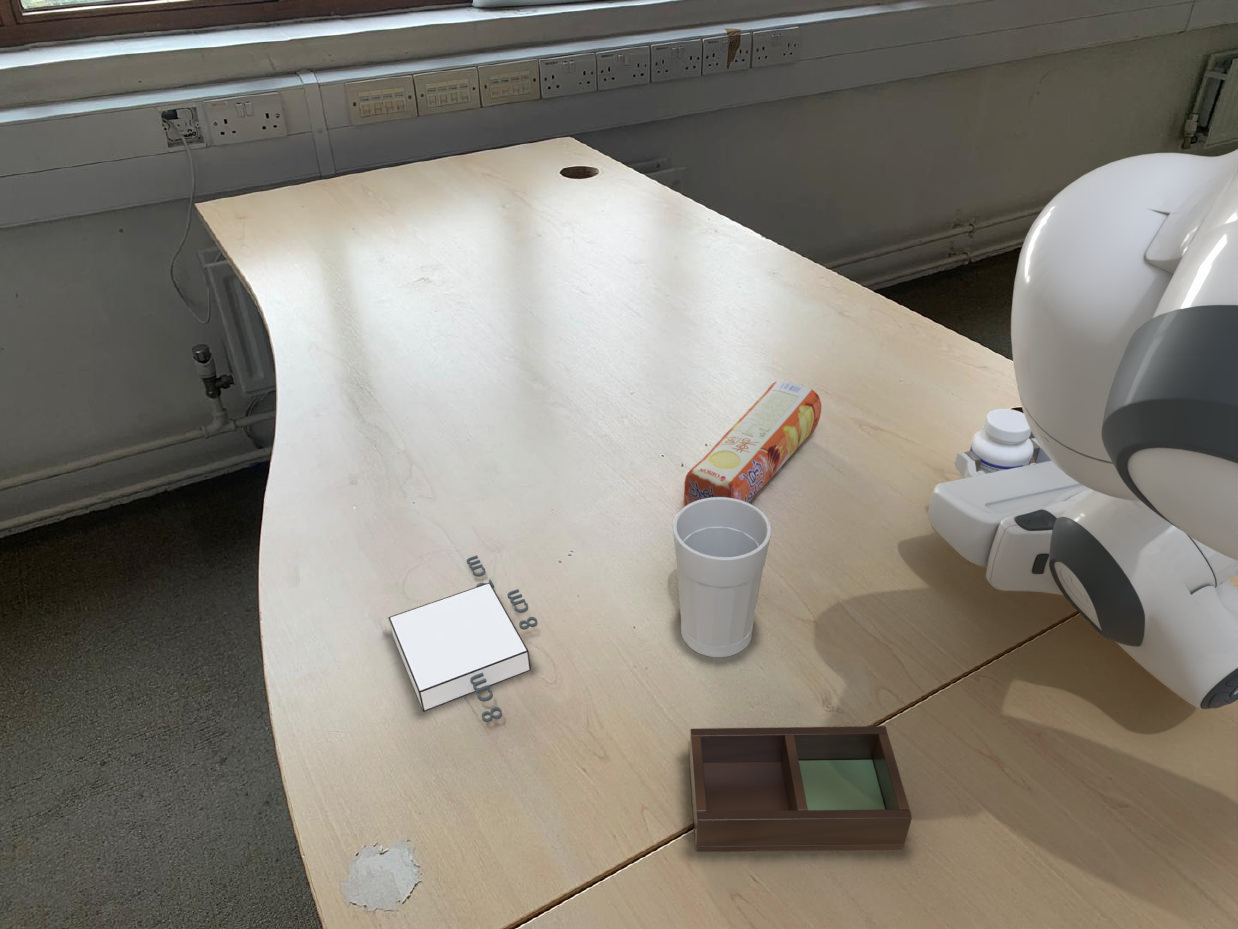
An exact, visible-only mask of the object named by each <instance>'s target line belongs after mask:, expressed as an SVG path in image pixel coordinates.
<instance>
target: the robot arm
mask: <svg viewBox="0 0 1238 929" xmlns="http://www.w3.org/2000/svg"><path fill="white" fill-rule="evenodd" d="M1012 292H1013V293H1012V304H1011V314H1010V339H1011V351H1012V365H1013V372H1014V376H1015V382H1016V386H1017V391H1018V397H1019V400H1020V405H1021V409H1022V413H1024V415H1025V418H1026V420H1027V423H1028V425H1029V427H1030V429H1031V433H1032V435H1033V436H1034V437H1033V438H1029V439H1030V440H1031V442H1032V444H1033V448H1034V451H1033V455H1032V459H1031V462H1030V465H1027V466H1022V467H1017V468H1012V469H1007V470H1003V471H998V472H993V473H988V474H986V473H985V472H984V471H982V470H981V471H979V470H980V468H979V466H980V465H981V461H982V458H981V457H979V456H978V455H976V454H975V452H974V451H970V450H968V451H963V452H958V453H956V457H955V461H954V466H955V469H956V470H957V471H958V472H959V473H960V474H961V475H962V476H963V478H960V479H953V480H949V481H944V482H939V483H936V485H934V488H933V491H932V494H931V496H930V500H929V504H928V505H929V506H928V513H927V516H928V517H927V518H928V520H929V522H930V525H931V526H932V527H933V528H934V530H935V531H936V532H937V533H938V534H939V535H940V536H941V538H943V539H944V540H945V542H946V543H947V544H948V545H949V546H950V547H952V549H954V551H956V552H957V554H959V555H960V556H961V557H962V558H964V559H965V560H966V561H968V562H970V563H972V564H973V565H976V566H979V567H983V568H986V572H985V579H986V580H987V582H988V583H989V585H991V586H992V587H993V588H994V589H996V590H998V591H1003V592H1032V593H1033V592H1034V593H1045V594H1052V595H1058V596H1064V597H1065V599H1066V600H1067V601H1068V602H1069V603H1070V605H1072V607H1073V608H1074V609H1075V610H1076V611H1077V612H1078V613H1079V614H1080V615H1081V616H1082V618H1084V619H1085V620H1086V621H1087V623H1089V624H1090V625H1091V626H1092V627H1093V628H1094V629H1095V631H1096V632H1098V633H1099V634H1100V635H1101V636H1102V637H1103V638H1104V639H1106V640H1109V641H1112V642H1115V643H1116V644H1117V645H1118V646H1119V647H1120V648H1121V649H1122V650H1123V651H1124V652H1125V653H1126V654H1127V655H1129V656H1130V658H1132V660H1134V661H1135V662H1136V663H1137V664H1138V665H1139V666H1141V667H1142V668H1143V670H1145V671H1146V672H1148V674H1150V675H1151V676H1153V677H1154V679H1156V680H1157V681H1159V682H1160V683H1161V684H1162V685H1164V686H1165V687H1166V688H1167V689H1169V690H1170V691H1172V693H1174V694H1175V695H1177V696H1178V697H1179V698H1180V699H1182V700H1184V701H1185V702H1187V703H1188V704H1190V705H1192V706H1193V707H1195V708H1197V709H1200V710H1210V709H1219V708H1222V707H1225V706H1228V705H1231V704H1233V703H1235V702H1236V701H1238V587H1237V586H1235V584H1233V583H1232V582H1231V581H1230V580H1231V579H1232V578H1234V577H1235V576H1237V575H1238V148H1237V149H1235V150H1234V151H1231V152H1228V153H1226V154H1221V155H1218V156H1207V155H1206V156H1205V155H1197V154H1191V153H1183V152H1182V153H1181V152H1155V153H1154V152H1153V153H1145V154H1139V155H1134V156H1129V157H1124V158H1121V159H1119V160H1115V161H1111V162H1109V163H1106V164H1104V165H1102V166H1099V167H1097V168H1095V169H1093V170H1091V171H1089V172H1087V173H1085V174H1083V175H1081V176H1080V177H1078V178H1077V179H1075V180H1074V181H1072V182H1071V183H1069V184H1068V185H1067V186H1065V187H1064V188H1063V189H1062V190H1061V191H1059V192H1058V193H1057V194H1056V195H1055V196H1054V197H1052V198H1051V200H1050V201H1049V202H1048V203H1047V204H1046V205H1045V206H1044V208H1043V209H1042V210H1041V212H1040V213H1039V214H1038V216H1037V217H1036V218H1035V219H1034V221H1033V222H1032V224H1031V226H1030V228H1029V230H1028V231H1027V234H1026V236H1025V239H1024V240H1023V243H1022V247H1021V250H1020V253H1019V257H1018V262H1017V267H1016V273H1015V278H1014V284H1013V291H1012Z"/></svg>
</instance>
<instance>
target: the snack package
mask: <svg viewBox="0 0 1238 929" xmlns="http://www.w3.org/2000/svg"><path fill="white" fill-rule="evenodd" d="M821 413H822V402H821V399H820V395H818V393H817V392H816V391H815V390H813V389H812V388H810V387H808V386H806V385H803V384H802V383H801V384H800V383H798V382H795V381H791V380H778V381H775V382H773V383H772V384H770V386H769V387H768V388H767V390H766V391H765V392H764V393H763V395H762V396H760V398H758V399H757V400H756V401H755V402H754V404H753V405H752V406H751V407H749V409H748V410H747V411H746V412H745V414H744V415H742V417H740V419H738V420H737V421H736V422H735V423H734V425H732V427H731V428H729V430H728V431H727V432H726V433H725V434H724V435H723V436H722V437H721V438H720V440H718V441H717V443H716V444H715V445H714V446H713V447H712V448H711V450H710V451H708V452H707V454H706V455H705V456H704V457H703V458H702V459H701V460H700V461H698V462H697V463H696V464H695V465H694V466H693V467H691V468H690V469H689V471H688V472H687V474H686V475H685V478H684V487H683V488H684V489H683V504H684V507H685V506H687V505H688V504H690V503H692V502H695V501H697V500H701V499H705V498H712V497H726V498H733V499H738V500H741V501H744V502H747V503H749V504H750V502H751V501H752V500H753V499H754V498H755V496H756V495H757V494H758V493H760V491H761V490H762V489H763V488H764V487H765V486H766V485H767V484H768V483H769V482H770V480H772V478H773V477H774V476H775V475H776V474H777V472H778V471H779V470H780V469H781V468H782V467H783V466H784V464H785V463H786V462H787V461H788V460H789V458H791V456H792V455H793V454H794V453H795V452H796V451H797V450H798V448H799V447H800V446H801V445H802V444H803V443H804V442H805V441H806V439H807V438H809V437H810V436H811V435H812V434H813V433H814V432H815V430H816V428H817V427H818V424H819V421H820V420H821Z"/></svg>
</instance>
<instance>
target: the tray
mask: <svg viewBox="0 0 1238 929" xmlns="http://www.w3.org/2000/svg"><path fill="white" fill-rule="evenodd" d="M689 735H690V736H689V771H690V787H691V802H692V816H693V831H694V841H695V842H694V843H695V844H694V845H695V852H767V851H768V852H769V851H770V852H773V851H776V852H777V851H778V852H779V851H781V852H782V851H785V852H786V851H865V850H867V851H869V850H870V851H871V850H872V851H873V850H875V851H876V850H878V851H880V850H904V847H905V844H906V840H907V837H908V834H909V830H910V828H911V823H912V819H913V816H912V813H911V810H910V805H909V802H908V799H907V796H906V792H905V788H904V786H903V782H902V779H901V775H900V771H899V768H898V765H897V761H896V758H895V755H894V754H895V753H894V751H893V748H892V744H891V740H890V737H889V733H888V729H887V727H886V725H873V726H872V725H871V726H868V725H867V726H866V725H865V726H864V725H863V726H860V725H859V726H799V727H798V726H794V727H781V726H780V727H717V728H715V727H711V728H710V727H709V728H708V727H707V728H706V727H705V728H690V734H689Z"/></svg>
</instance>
